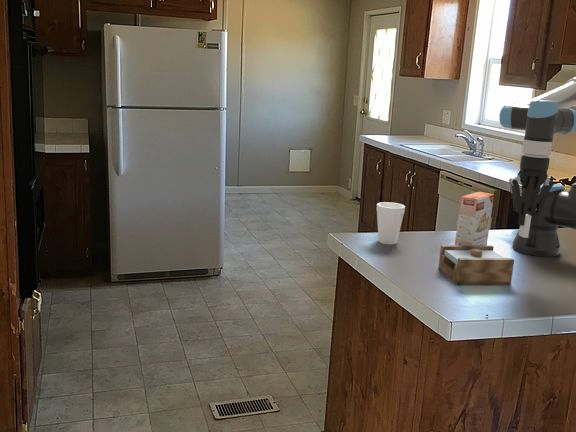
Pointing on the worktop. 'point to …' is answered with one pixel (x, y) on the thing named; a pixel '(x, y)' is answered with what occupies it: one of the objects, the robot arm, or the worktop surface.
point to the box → (476, 267)
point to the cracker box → (474, 219)
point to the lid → (470, 254)
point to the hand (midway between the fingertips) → (523, 236)
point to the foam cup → (389, 221)
